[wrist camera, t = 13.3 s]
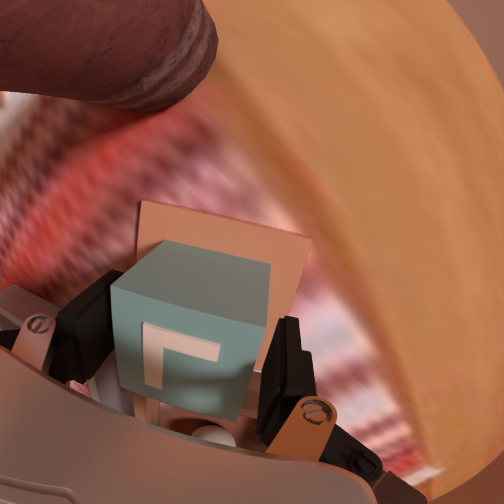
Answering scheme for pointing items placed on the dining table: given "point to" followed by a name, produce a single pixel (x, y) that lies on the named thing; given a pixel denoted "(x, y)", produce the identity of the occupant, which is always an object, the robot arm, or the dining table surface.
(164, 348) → the letter cube
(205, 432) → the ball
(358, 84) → the dining table surface
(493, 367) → the dining table surface
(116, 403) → the bin grey
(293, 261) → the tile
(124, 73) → the can
